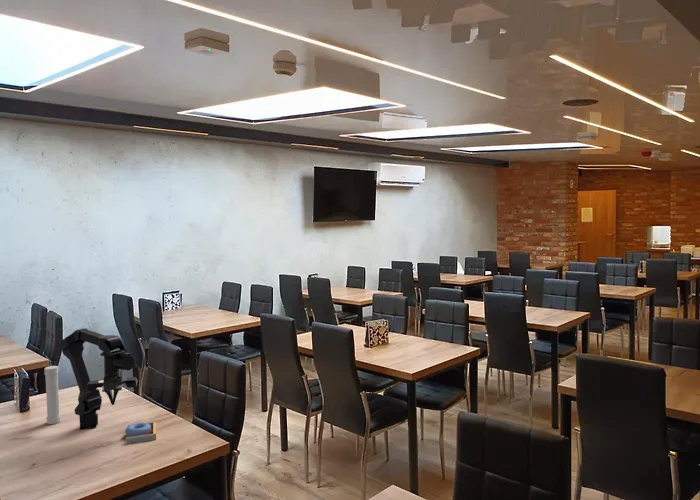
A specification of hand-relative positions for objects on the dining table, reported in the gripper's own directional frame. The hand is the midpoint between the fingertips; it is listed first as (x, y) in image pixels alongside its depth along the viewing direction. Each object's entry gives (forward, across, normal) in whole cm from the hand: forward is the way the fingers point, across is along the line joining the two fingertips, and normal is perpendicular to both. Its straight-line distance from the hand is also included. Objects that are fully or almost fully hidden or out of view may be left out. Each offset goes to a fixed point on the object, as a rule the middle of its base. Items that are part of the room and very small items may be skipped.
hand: (113, 404), depth 223 cm
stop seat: (+12, +11, -6) cm, 17 cm away
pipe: (+12, -27, +22) cm, 36 cm away
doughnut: (+12, +10, -5) cm, 17 cm away
